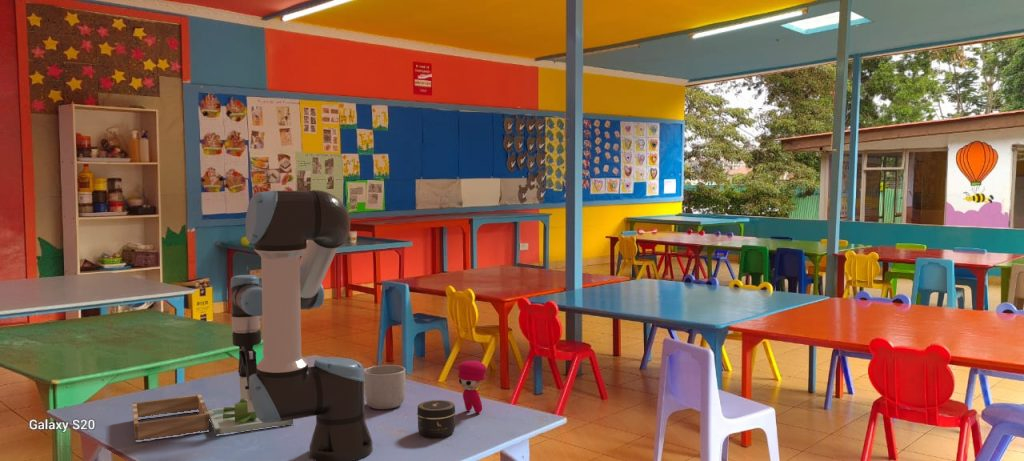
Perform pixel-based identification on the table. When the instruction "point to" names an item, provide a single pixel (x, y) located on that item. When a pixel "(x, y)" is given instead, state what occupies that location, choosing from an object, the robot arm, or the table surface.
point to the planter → (384, 386)
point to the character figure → (240, 412)
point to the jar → (436, 418)
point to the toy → (471, 383)
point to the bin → (172, 424)
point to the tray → (234, 426)
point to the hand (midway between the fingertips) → (249, 405)
